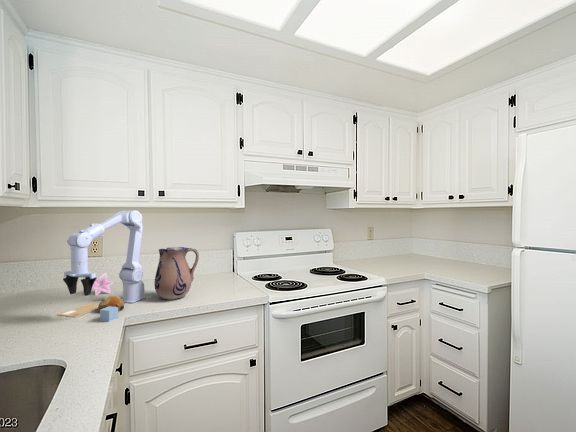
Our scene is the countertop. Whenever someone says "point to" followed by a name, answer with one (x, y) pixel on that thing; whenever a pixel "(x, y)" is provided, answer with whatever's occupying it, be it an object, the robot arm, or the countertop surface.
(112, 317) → the blue cube
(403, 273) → the countertop surface
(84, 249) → the robot arm
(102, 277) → the lily
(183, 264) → the ceramic pitcher
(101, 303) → the bread roll
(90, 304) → the envelope
